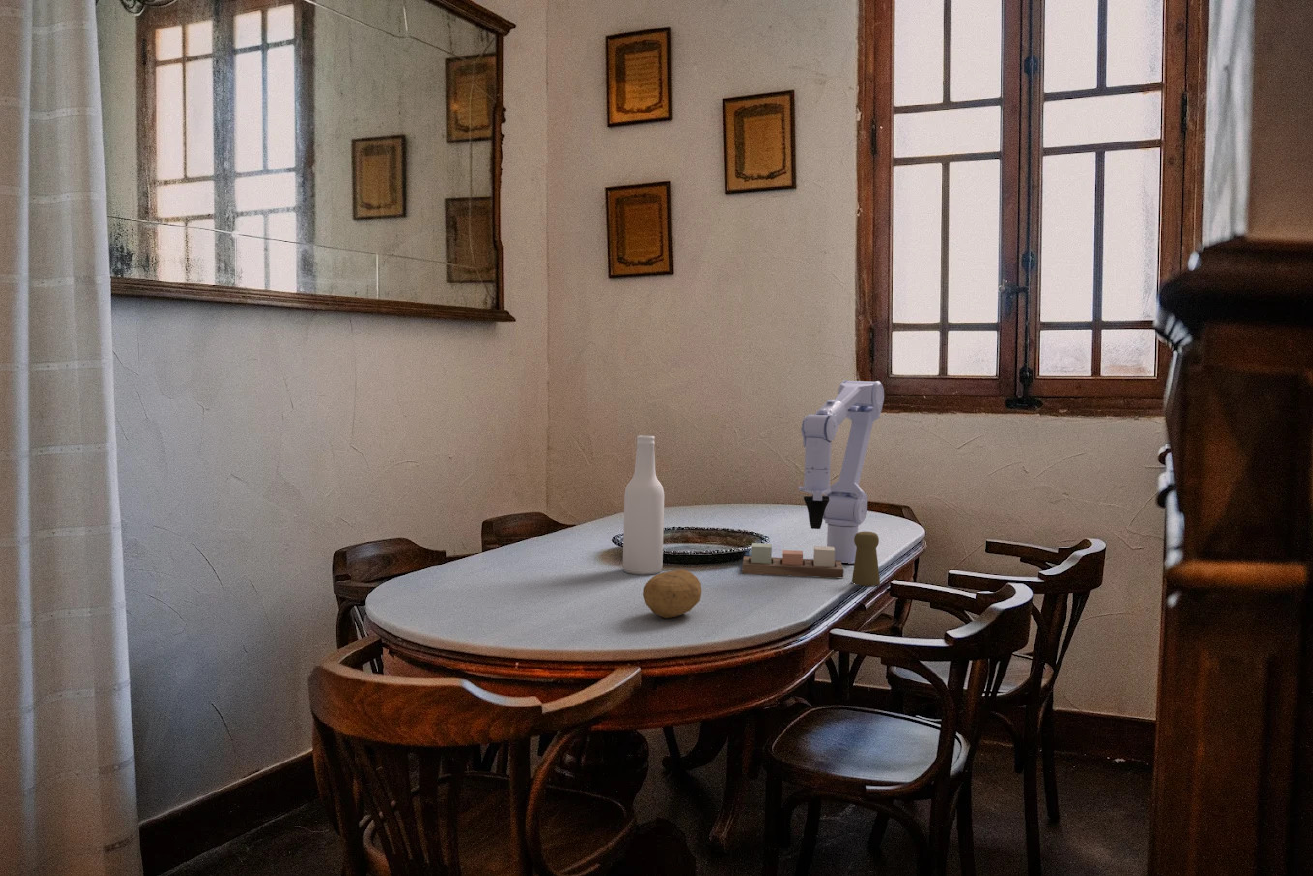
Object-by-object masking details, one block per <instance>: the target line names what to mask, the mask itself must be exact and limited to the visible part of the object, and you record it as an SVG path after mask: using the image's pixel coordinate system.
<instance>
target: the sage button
mask: <svg viewBox="0 0 1313 876" xmlns="http://www.w3.org/2000/svg"><path fill="white" fill-rule="evenodd" d="M772 548H773V544H772V543H759V542H752V543H751V550H750V551H751V552H750V555H751V563H764V564H771V557H772V556H773V555H772V554H773V553H772V551H773V549H772Z"/></svg>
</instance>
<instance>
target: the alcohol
mask: <svg viewBox="0 0 1313 876" xmlns="http://www.w3.org/2000/svg"><path fill="white" fill-rule="evenodd" d="M636 439H637V440H636V444H637V445H636V454H635V465H634V474H633V476H632V478H631V480H630V481H629V482H628V483H627V484H626V486H625V488H624V489H625V490H624V496H623V497H624V498H623V499H624V500H623V501H624V503H623V506H624V507H623V531H622V532H623V535H622V537H623V539H622V542H623V543H622V569H623V571H624V572H625V573H626V574H631V575H636V576H637V575H638V576H640V575H642V576H650V575H657V574H660V573H661V570H662V569H663V564H664V563H663V560H664V527H665V526H664V524H665V523H664V521H665V490H664V486H663V484H662V483H661V482H660V481H659V480H658V476H657V473H656V458H655V457H656V455H655V444H656V441H655V439H656V437H655V435H648V434H647V435H646V434H645V435H644V434H643V435H637V436H636Z"/></svg>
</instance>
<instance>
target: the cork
mask: <svg viewBox="0 0 1313 876" xmlns="http://www.w3.org/2000/svg"><path fill="white" fill-rule="evenodd" d="M879 541H880V538H879V536H878V534H877V533H875V532H873V531H858V533H857V534H856V535H855V537H854V542H855V545H856V547H857V549H856V556H855V563H854V564H853V572H852V579H851V583H852V582H853V583H855V584H854V585H856V586H864V587H865V586H867V587H871V586H872V587H873V586H878V585H881V578H880V570H879V563H878V562H879V561H878V554H877V547H878V546H879ZM853 583H852V584H853Z"/></svg>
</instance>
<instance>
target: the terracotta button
mask: <svg viewBox="0 0 1313 876" xmlns="http://www.w3.org/2000/svg"><path fill="white" fill-rule="evenodd" d="M781 556H782V557H781V558H782V564H785V565H803V559H804V551H803V550H794V549H793V550H792V549H782V555H781Z"/></svg>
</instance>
